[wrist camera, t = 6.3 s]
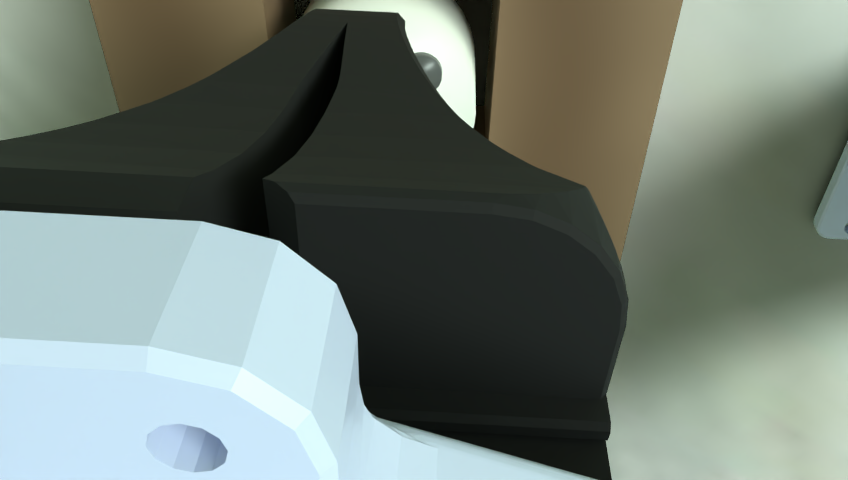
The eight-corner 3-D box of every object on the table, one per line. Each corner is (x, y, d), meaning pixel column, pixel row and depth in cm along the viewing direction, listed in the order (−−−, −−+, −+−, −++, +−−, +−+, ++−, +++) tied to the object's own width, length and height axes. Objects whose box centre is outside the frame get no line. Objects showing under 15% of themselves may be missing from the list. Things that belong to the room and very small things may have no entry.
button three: (480, -31, 16) (482, 23, 14) (470, 135, 18) (470, 200, 16) (288, -37, 16) (262, 16, 14) (304, 129, 19) (285, 192, 17)
